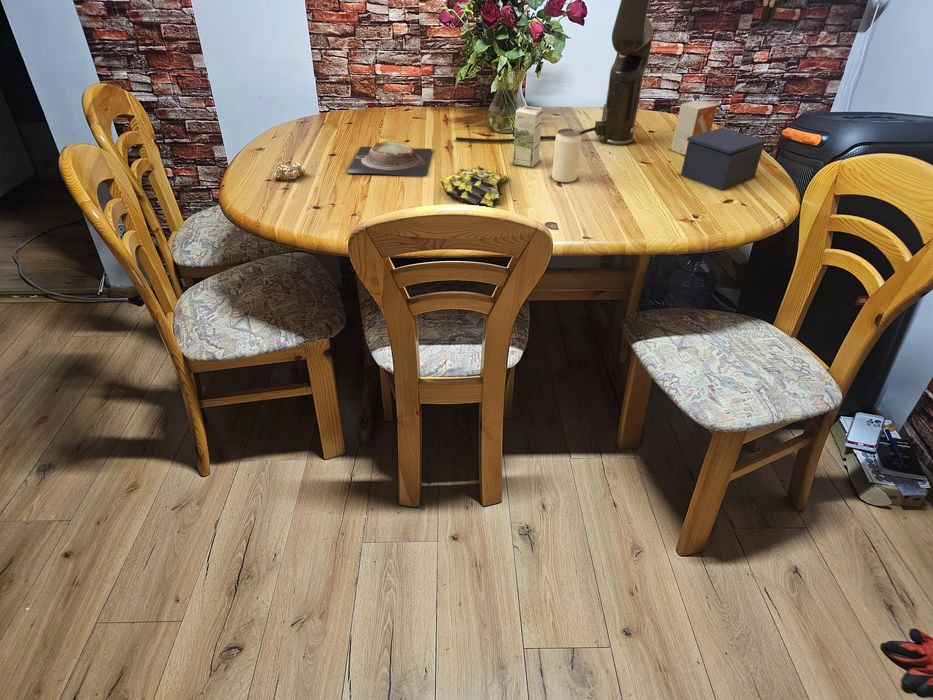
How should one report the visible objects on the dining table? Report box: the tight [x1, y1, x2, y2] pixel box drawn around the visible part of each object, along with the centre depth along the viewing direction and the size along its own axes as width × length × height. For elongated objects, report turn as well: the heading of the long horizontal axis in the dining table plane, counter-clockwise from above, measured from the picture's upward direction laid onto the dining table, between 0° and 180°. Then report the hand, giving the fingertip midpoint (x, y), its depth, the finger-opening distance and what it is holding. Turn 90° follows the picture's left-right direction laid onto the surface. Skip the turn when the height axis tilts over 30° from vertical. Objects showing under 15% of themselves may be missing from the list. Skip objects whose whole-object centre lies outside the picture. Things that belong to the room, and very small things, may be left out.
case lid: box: [687, 127, 766, 154], centre depth 158 cm, size 15×13×1 cm
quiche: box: [346, 140, 433, 177], centre depth 169 cm, size 21×20×4 cm
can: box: [551, 128, 582, 184], centre depth 158 cm, size 6×6×12 cm
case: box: [680, 141, 765, 191], centre depth 161 cm, size 15×13×9 cm
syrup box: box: [512, 105, 543, 168], centre depth 166 cm, size 6×6×14 cm
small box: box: [670, 99, 718, 156], centre depth 175 cm, size 8×6×13 cm
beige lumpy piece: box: [273, 162, 306, 181], centre depth 159 cm, size 8×7×4 cm
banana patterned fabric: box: [440, 165, 509, 208], centre depth 155 cm, size 20×16×6 cm
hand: (765, 22), depth 160 cm, fingers closed
